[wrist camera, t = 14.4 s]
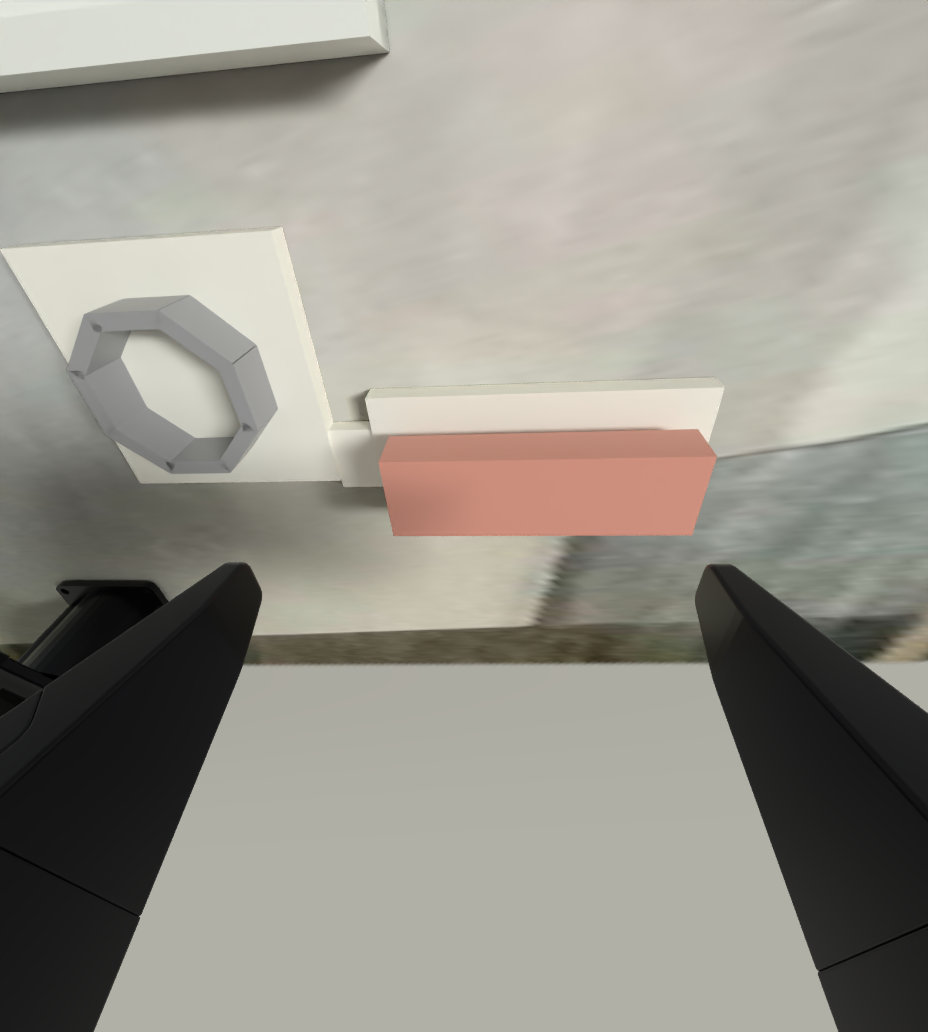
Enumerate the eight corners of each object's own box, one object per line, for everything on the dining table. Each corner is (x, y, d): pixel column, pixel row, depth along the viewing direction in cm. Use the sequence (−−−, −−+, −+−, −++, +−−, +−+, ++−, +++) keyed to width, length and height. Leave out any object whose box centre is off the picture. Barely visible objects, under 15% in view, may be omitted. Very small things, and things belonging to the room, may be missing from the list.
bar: (402, 507, 21) (393, 536, 19) (388, 436, 19) (378, 462, 17) (677, 504, 20) (691, 535, 18) (698, 428, 18) (717, 456, 16)
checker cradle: (170, 504, 24) (135, 541, 22) (22, 244, 17) (-55, 259, 15) (681, 499, 22) (702, 540, 20) (767, 192, 15) (817, 201, 12)
